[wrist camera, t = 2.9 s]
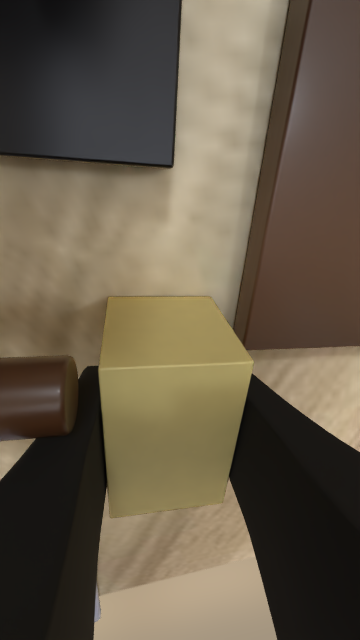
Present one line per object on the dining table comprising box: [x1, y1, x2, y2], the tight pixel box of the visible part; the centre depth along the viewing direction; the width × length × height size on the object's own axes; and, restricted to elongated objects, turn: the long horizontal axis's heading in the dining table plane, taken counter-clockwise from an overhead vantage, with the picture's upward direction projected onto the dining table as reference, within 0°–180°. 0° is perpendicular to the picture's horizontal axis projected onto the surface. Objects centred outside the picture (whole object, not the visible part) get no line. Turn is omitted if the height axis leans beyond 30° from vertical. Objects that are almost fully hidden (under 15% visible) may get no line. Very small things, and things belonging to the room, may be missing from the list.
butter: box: [98, 297, 254, 518], centre depth 8 cm, size 5×3×4 cm, turn 177°
